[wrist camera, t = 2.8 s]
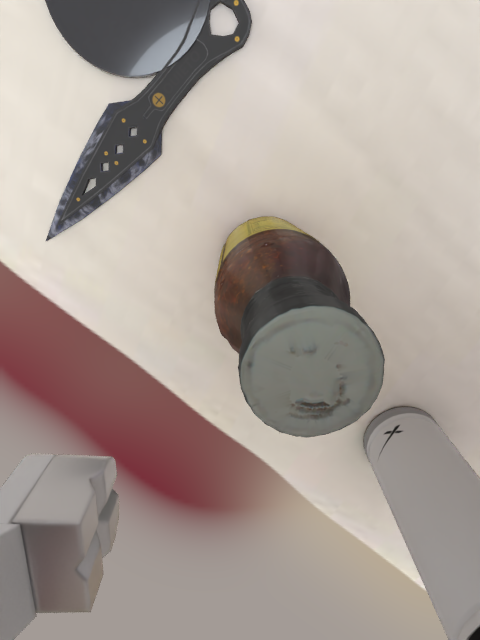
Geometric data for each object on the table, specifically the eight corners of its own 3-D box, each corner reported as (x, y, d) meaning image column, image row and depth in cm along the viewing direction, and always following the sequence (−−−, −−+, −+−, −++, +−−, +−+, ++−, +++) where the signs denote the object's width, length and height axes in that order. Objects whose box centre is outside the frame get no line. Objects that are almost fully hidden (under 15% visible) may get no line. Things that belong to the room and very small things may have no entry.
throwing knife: (266, 29, 26) (267, 26, 25) (72, 261, 31) (68, 263, 30) (214, -32, 25) (214, -36, 24) (21, 219, 30) (17, 220, 29)
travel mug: (360, 406, 34) (506, 693, 15) (441, 403, 34) (688, 689, 15) (356, 469, 36) (480, 789, 18) (433, 467, 36) (640, 786, 17)
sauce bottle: (278, 313, 32) (333, 519, 13) (205, 273, 31) (150, 433, 12) (326, 237, 30) (473, 349, 11) (250, 192, 29) (269, 230, 10)
